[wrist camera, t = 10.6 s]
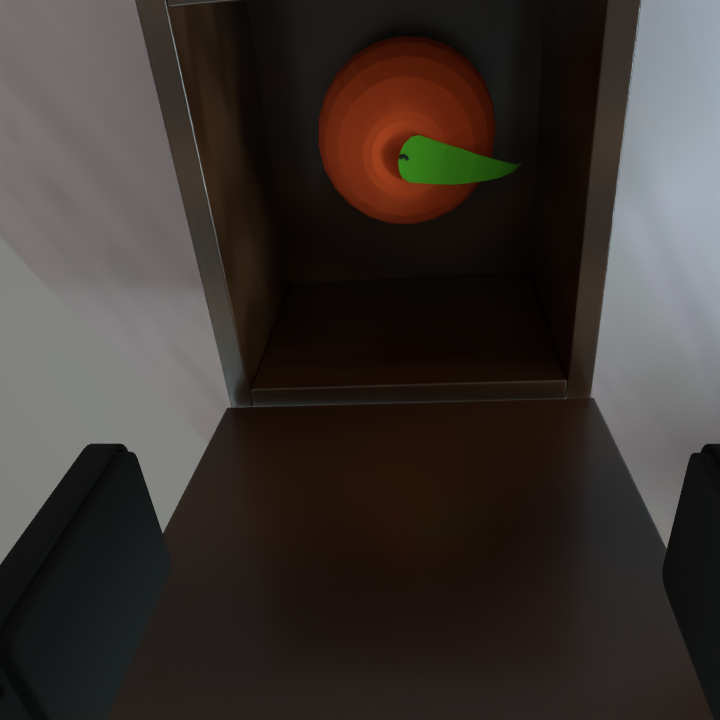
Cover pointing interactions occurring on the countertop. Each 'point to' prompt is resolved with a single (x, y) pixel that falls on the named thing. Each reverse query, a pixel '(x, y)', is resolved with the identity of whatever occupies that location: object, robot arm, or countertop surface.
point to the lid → (413, 573)
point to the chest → (391, 240)
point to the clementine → (408, 130)
